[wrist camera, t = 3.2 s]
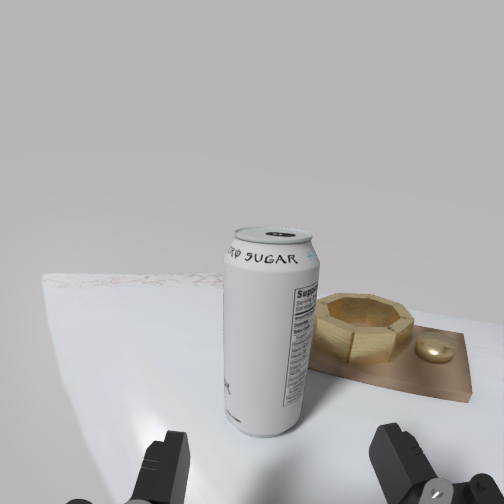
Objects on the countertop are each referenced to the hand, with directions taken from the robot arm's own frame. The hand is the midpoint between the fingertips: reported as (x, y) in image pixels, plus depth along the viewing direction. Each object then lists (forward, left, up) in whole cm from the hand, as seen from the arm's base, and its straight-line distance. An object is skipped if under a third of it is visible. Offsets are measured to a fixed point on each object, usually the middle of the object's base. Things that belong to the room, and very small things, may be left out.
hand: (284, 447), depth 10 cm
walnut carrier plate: (-11, -22, -8) cm, 26 cm away
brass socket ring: (-11, -23, -7) cm, 26 cm away
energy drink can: (+1, -10, -8) cm, 13 cm away
